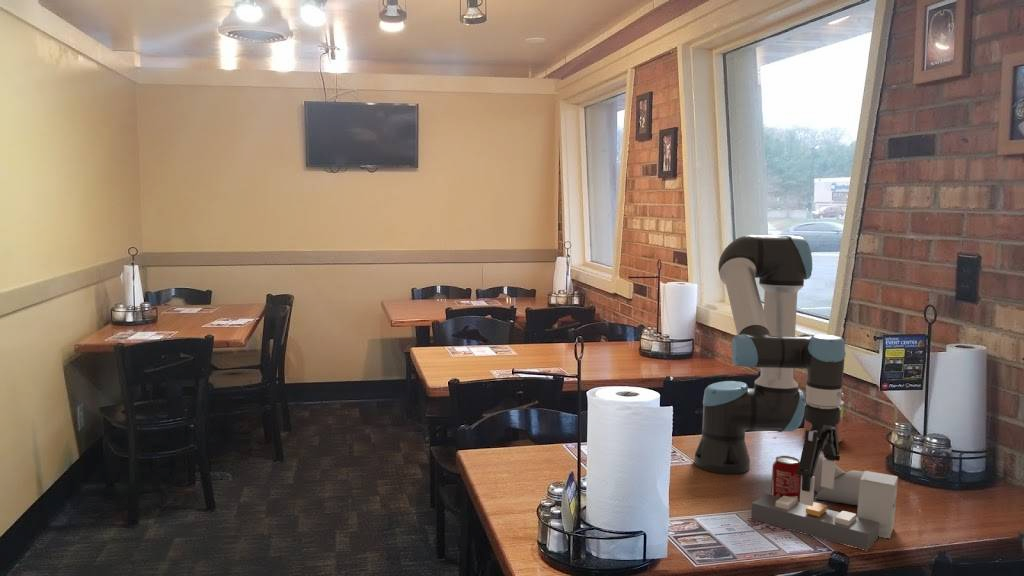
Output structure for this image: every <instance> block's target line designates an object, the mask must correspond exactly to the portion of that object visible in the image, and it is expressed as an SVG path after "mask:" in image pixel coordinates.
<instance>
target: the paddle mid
mask: <svg viewBox="0 0 1024 576" xmlns="http://www.w3.org/2000/svg"><path fill="white" fill-rule="evenodd" d="M827 509H828V506H827V504H824V503H820V502H816V501H813V506H808V507H807V508H806V513H807V514H810V515H814V516H818V517H819V516H820V515H822V514H823V513H824V512H825V511H826V510H827Z"/></svg>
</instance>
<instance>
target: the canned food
mask: <svg viewBox="0 0 1024 576" xmlns="http://www.w3.org/2000/svg"><path fill="white" fill-rule="evenodd" d="M806 403H807V402H806V401H805V404H806ZM844 406H845V402H844V401H843V400H842V399H841V405H839V407H840V408H841V414H840V422H839V424H837V436H838V443H840V441H841V442H842V441H843V440H842V439H843V438H842V437H843V436H842V435H843V434H842V433H843V421H844ZM811 428H812V424H811V423H810V422H808V421H806V420H805V419H804V426H803V434H802V435H803V438H805V432H806V430H808V431H810V429H811Z"/></svg>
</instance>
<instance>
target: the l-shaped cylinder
mask: <svg viewBox="0 0 1024 576" xmlns="http://www.w3.org/2000/svg"><path fill="white" fill-rule="evenodd" d="M823 459H826V458H825V457H824V455H821V454H820V455H819V458H818V461H817V465H816V468H815V471H814V474H813V476H814V477H815V482H814V492H816V493H817V494H816V495H815V496H814V497H815V500H821V501H825V502H831V503H832V502H833V503H838V504H843V505H851V506H852V505H853V506H856V507H858V496H859V484H860V478H861V477H862V475H863V473H864V471H861V470H854V469H852V470H849V471H847V472H846V471H845V470H843V469H842V468H840V467H839V466H838V465H836V464H835V475H834V488H833V489H830V488H826V487H822V486H821V476H822V461H823ZM799 464H800V462H799ZM805 471H807V470H805Z"/></svg>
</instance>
